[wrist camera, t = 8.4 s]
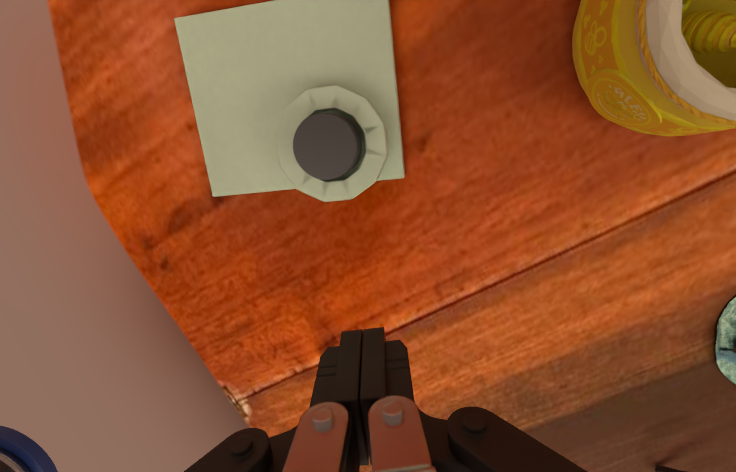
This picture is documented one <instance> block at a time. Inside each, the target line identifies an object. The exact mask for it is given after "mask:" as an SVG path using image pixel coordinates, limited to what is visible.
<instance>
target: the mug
mask: <svg viewBox="0 0 736 472" xmlns="http://www.w3.org/2000/svg"><path fill="white" fill-rule="evenodd" d="M572 54H573V61H574V66H575V70H576V73H577V77H578V80H579V83H580V85H581V87H582V88H583V90H584V92H585V93H586V95H587V96H588V98H589V101H590V103H591V105H592V106H593V107H594V109H595V110H596V111H597V113H599V114H600V115H601V116H603V117H604V118H605V119H607V120H609V121H611V122H614V123H616V124H619V125H621V126H623V127H625V128H628V129H630V130H632V131H635V132H640V133H646V134H653V135H661V136H686V135H694V134H701V133H708V132H715V131H722V130H728V129H733V128H736V0H581V1H580V5H579V9H578V13H577V16H576V20H575V24H574V28H573V36H572Z"/></svg>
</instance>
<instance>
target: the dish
mask: <svg viewBox="0 0 736 472" xmlns="http://www.w3.org/2000/svg"><path fill="white" fill-rule="evenodd" d="M715 345H716V358H717V364H718V367H719V369H720V370H721V372H722V373H723V374H724V375H725V376H726V377H727V378H728V379H729V380H730V381H731V382H733V383H734V384H736V297H735V298H734V299H733V300H732V301H730V303H729V304H728V305H727V307H726V308H725V309H724V311H723V313H722V315H721V317H720V318H719V321H718V325H717V330H716V344H715Z"/></svg>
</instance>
